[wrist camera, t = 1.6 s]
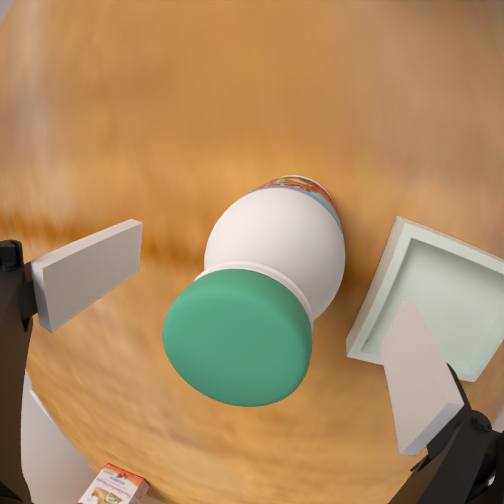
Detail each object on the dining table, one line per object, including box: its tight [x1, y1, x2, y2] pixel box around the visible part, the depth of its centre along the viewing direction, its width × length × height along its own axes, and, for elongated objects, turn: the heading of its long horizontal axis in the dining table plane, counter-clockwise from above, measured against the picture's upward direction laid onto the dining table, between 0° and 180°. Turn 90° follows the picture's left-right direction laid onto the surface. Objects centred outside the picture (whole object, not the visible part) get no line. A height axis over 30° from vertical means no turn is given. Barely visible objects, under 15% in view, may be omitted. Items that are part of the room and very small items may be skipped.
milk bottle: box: [162, 175, 345, 407], centre depth 17 cm, size 8×8×20 cm
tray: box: [346, 215, 504, 382], centre depth 24 cm, size 14×18×3 cm
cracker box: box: [77, 463, 150, 504], centre depth 50 cm, size 14×6×21 cm, turn 95°
